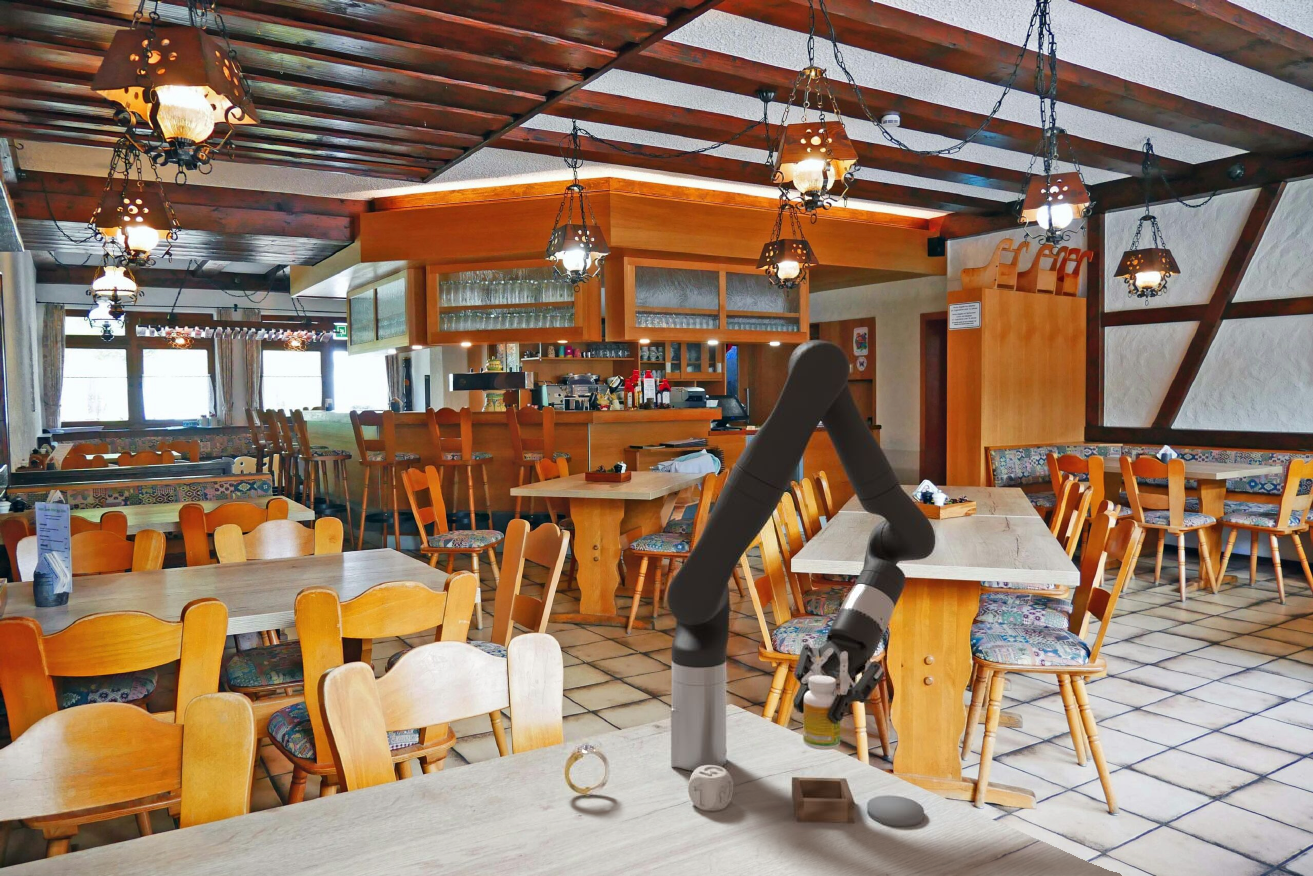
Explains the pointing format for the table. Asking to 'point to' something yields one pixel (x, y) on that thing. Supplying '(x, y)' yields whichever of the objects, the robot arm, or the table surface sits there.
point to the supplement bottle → (820, 714)
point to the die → (710, 787)
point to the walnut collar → (823, 800)
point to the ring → (582, 750)
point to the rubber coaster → (895, 811)
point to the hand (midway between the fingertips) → (814, 715)
